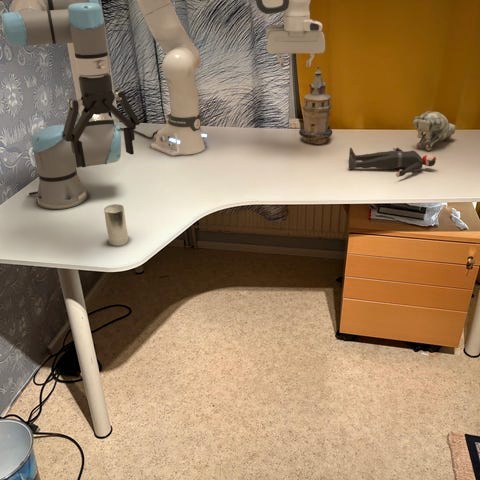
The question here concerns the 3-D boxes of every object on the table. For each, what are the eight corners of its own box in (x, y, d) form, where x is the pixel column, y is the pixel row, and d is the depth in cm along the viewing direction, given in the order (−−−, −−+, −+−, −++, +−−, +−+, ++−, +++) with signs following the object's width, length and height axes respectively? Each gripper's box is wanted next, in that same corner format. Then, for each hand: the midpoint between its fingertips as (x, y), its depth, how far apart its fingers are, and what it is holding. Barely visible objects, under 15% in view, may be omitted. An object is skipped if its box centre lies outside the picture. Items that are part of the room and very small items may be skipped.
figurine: (442, 162, 206) (466, 135, 215) (430, 119, 197) (456, 92, 206) (420, 162, 213) (444, 135, 222) (407, 120, 205) (433, 94, 213)
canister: (105, 240, 150) (100, 207, 145) (122, 234, 152) (118, 202, 147) (114, 247, 146) (109, 214, 141) (131, 241, 149) (127, 209, 144)
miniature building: (320, 132, 228) (325, 59, 214) (338, 142, 217) (344, 66, 203) (293, 137, 224) (296, 63, 209) (310, 147, 213) (314, 69, 198)
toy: (350, 139, 204) (432, 140, 198) (349, 155, 207) (431, 156, 201) (348, 164, 182) (441, 166, 176) (347, 181, 185) (438, 183, 179)
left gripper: (50, 86, 117) (66, 176, 128) (148, 69, 131) (156, 151, 142) (36, 80, 122) (53, 167, 133) (132, 64, 136) (141, 144, 147)
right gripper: (265, 26, 180) (265, 68, 187) (327, 25, 179) (324, 68, 186) (265, 23, 185) (265, 64, 192) (325, 22, 184) (322, 64, 191)
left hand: (106, 159), depth 137 cm, fingers open, 13 cm apart
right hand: (295, 66), depth 189 cm, fingers open, 8 cm apart
